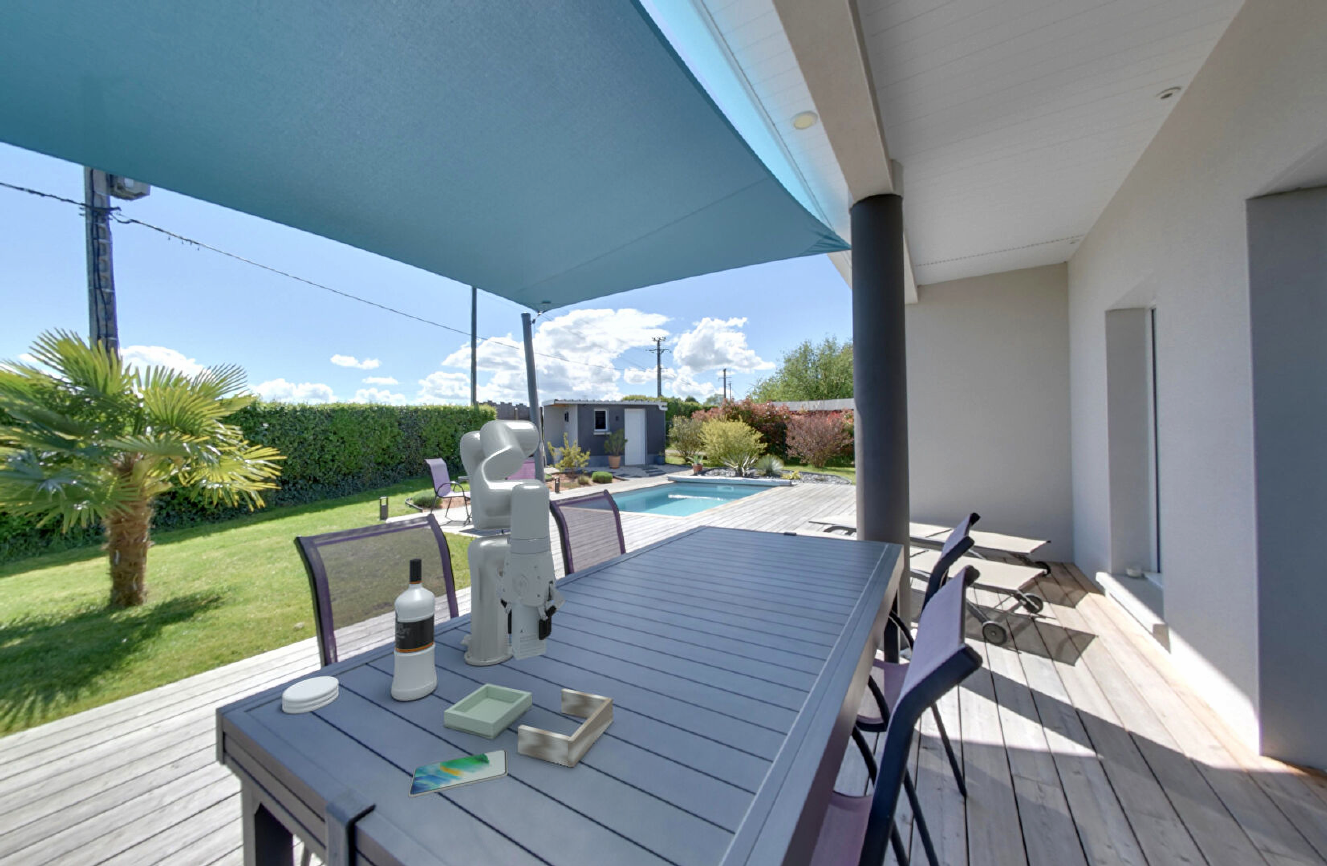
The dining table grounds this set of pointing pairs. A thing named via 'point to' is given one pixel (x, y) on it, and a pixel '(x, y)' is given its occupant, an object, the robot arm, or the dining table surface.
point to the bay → (579, 743)
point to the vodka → (414, 639)
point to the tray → (488, 710)
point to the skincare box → (526, 631)
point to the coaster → (310, 694)
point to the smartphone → (458, 773)
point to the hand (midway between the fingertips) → (529, 633)
